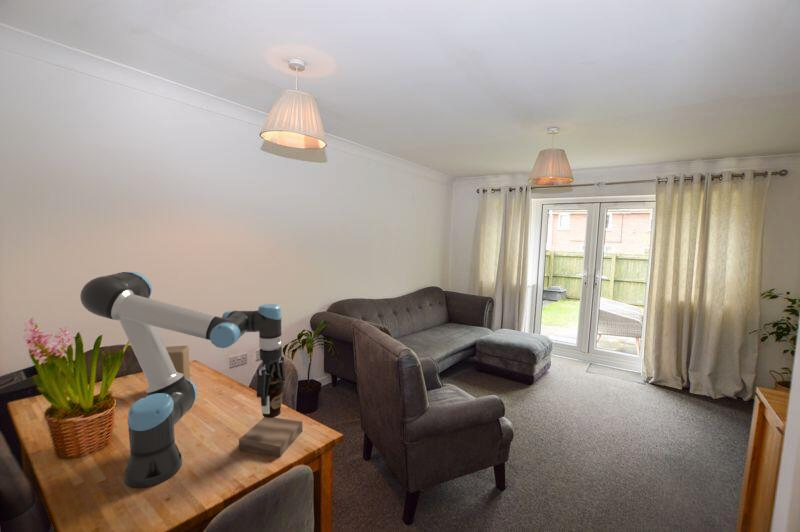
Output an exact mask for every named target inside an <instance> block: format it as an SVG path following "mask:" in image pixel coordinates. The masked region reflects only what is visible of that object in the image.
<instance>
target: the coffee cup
mask: <svg viewBox="0 0 800 532" xmlns="http://www.w3.org/2000/svg"><path fill="white" fill-rule="evenodd" d="M283 382H284V381H283ZM283 382H282V377H281V378H280V377H273V376H272V377H271V380H270V386H269V391H268V396H269V404H270V413H269V414H264V413H262V412H261V414H262V416H263V418H264V417H265V418H274V417H275V418H278V416H280V415H281V407H282V403H283V391H284V390H283V387H284V385H285V384H284V383H283ZM283 384H284V385H283Z"/></svg>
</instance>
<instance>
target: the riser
mask: <svg viewBox="0 0 800 532" xmlns="http://www.w3.org/2000/svg"><path fill="white" fill-rule="evenodd" d="M303 431H304V430H303V421H301V420H294V419H287V418H281V417H274V418H265V417H264V416H263V417H262V418H261V419H260V420H259V421H258V422H257V423H255V425H254V426H252V427H251V428H250V429H248V431H247V432H245V434H244V435H242V436H241V437H240V438H239V439H238V446H239V447H238V448H239V450H238V451H244V452H250V453H253V454H254V453H255V454H260V455H266V456H271V457H277V458H281V457H282V456H283V454H285V452H286V451H287V450H288V449H289V448H290V447H291V446H292V444H294V442H295V441H296V440H297V438H298V437H299V436H301V434H302V433H303Z"/></svg>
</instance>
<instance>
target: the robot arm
mask: <svg viewBox="0 0 800 532" xmlns="http://www.w3.org/2000/svg"><path fill="white" fill-rule="evenodd" d="M152 291H153V286H152V283H151V282H150V280H149V278H148V277H146V276H145V275H143V274H141V273H138V272H135V271H122V272H117V273H113V274H108V275H102V276H98V277H96V278H93V279H91V280H90V281H88V282H87V283H85V284H84V285H83V287H82V289H81V290H80V295H79V296H80V302H81V304H82V306H83V307H84V308H85V310H87V311H88V312H90V313H91V314H94V315H96V316H99V317H102V318H106V319H110V320H113V321H119V322H120V324H121V326H122V328H123V331H124V332H125V333H124V334H125V336H126V337H127V339H128V342H129V344H130V346H131V349H132V351H133V353H134V355H135V357H136V360H137V362H138V364H139V366H140V368H141V370H142V373H143V375H144V377H145V379H146V381H147V383H148V386H147V388H146V390H145V392H146V394H147V395H146V396H145V397H141V398H140V399H138V400H136V401H135V402H134V403H132V405H131V406H130V407H129V409H128V413H127V416H128V417H127V425H128V427H127V428H128V435H129V437H128V438H129V453H130V455H129V458H128V462H127V466H126V468H125V470H124V483H125V484H126V486H128V487H129V488H130V487H131V488H136V489H137V488H139V489H140V488H141V489H142V488H147V487H148V488H149V487H151V486H155V485H158V484H160V483H162V482H164V481H167V480H168V479H171V477H173V476H174V475H175V474H176V473H178V472H179V471H180V469H181V468H182V466H183V456H182V453H181V452H180V449H179V448H178V445H177V444H176V440H175V437H176V436H175V425H176V424H177V423H178V422H179V421H180V420H181V419H182V418H183V417H184V416H185V414H186V413H187V412H189V411H190V409H191V408H192V407H193V405H194V404H195V403H196V400H197V396H198V389H197V386H196V384H195V383H194V382H193V381H192V380H191V379H190V381H189V380H188V379H186V378H185V377H184V375H183V374H182V373H178V372H177V371H176V370H175V367H174V365H173V363H172V361H171V358H170V356H169V354H168V352H167V349H166V347H167V346H166V345H165V343H164V340H163V339H162V336H161V334H160V331H159V330H158V328H160V329H164V330H168V331H172V332H176V333H180V334H183V335H187V336H193V337H195V338H200V339H205V340H209V341H210V342H211V344H212V345H214V346H215V347H216V348H218V349H219V348H220V349H227V348H229V347H231V346H232V345H234V344H236V343H237V342H238V341H239V339H240V338H241V337H242V336H244V334H245V333H258V336H259V337H258V343H259V345H258V347H259V359H260V360H261V362H262V365H261V368H257V370H256V374H257V378H256V379H257V380H256V382H257V383H256V398H260V405H261V414H262V413H264V414H269V413H270V404H269V396H268V391H269V386H270V380H271V377H280V378H282V382H283V383H284V384H283V386H285V385H286V384H285V381H286V373H285V365H284V364H285V363H284V362H285V357H284V356H283V351H282V350H283V348H282V311H281V306H280V305H279V304H276V303H267V304H266V303H264V304H261V305H259V306H258V309H257V310H229V311H225V312H223V313H222V316H221V317H220V316H215V315H214V314H208V313H207V312H206V313H205V312H202V311H197V310H194V309H191V308H185V307H182V306H180V305H179V306H178V305H176V304H175V305H174V304H171V303H167V302H163V301H160V300H156V299H152V298H150V297H151V294H152Z"/></svg>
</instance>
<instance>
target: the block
mask: <svg viewBox="0 0 800 532" xmlns="http://www.w3.org/2000/svg"><path fill="white" fill-rule="evenodd" d="M165 347H166V349H167V352H168V354H169V356H170V358H171V361H172V363H173V365H174V367H175V370H176V371H177V372H178V373H182V374H183V375H184V377H185V378H186V379H188V380H189V381H190V380H191V376H190V373H191V371H190V352H189V346H188V345H173V346H172V345H171V346H165Z"/></svg>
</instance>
